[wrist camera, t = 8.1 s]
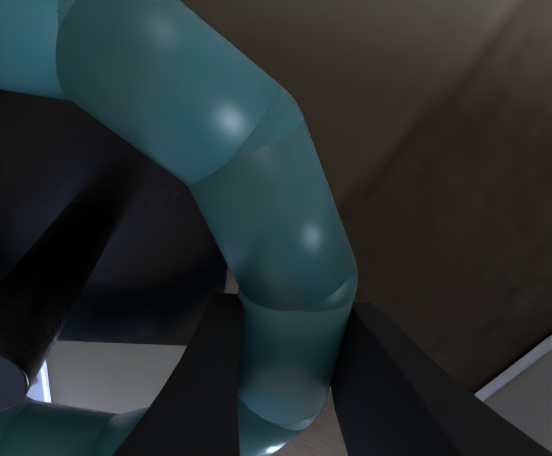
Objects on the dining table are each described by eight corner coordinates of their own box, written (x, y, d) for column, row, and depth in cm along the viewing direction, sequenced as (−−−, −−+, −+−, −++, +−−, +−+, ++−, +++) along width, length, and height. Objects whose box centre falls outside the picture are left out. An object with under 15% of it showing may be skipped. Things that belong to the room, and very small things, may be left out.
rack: (220, 326, 16) (215, 523, 10) (-31, 314, 15) (-223, 535, 9) (246, 89, 12) (265, 165, 6) (-90, 44, 11) (-524, 78, 5)
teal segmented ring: (293, 478, 14) (290, 566, 12) (-122, 408, 14) (-206, 482, 12) (416, 2, 8) (459, -9, 5) (-323, -116, 8) (-581, -176, 6)
